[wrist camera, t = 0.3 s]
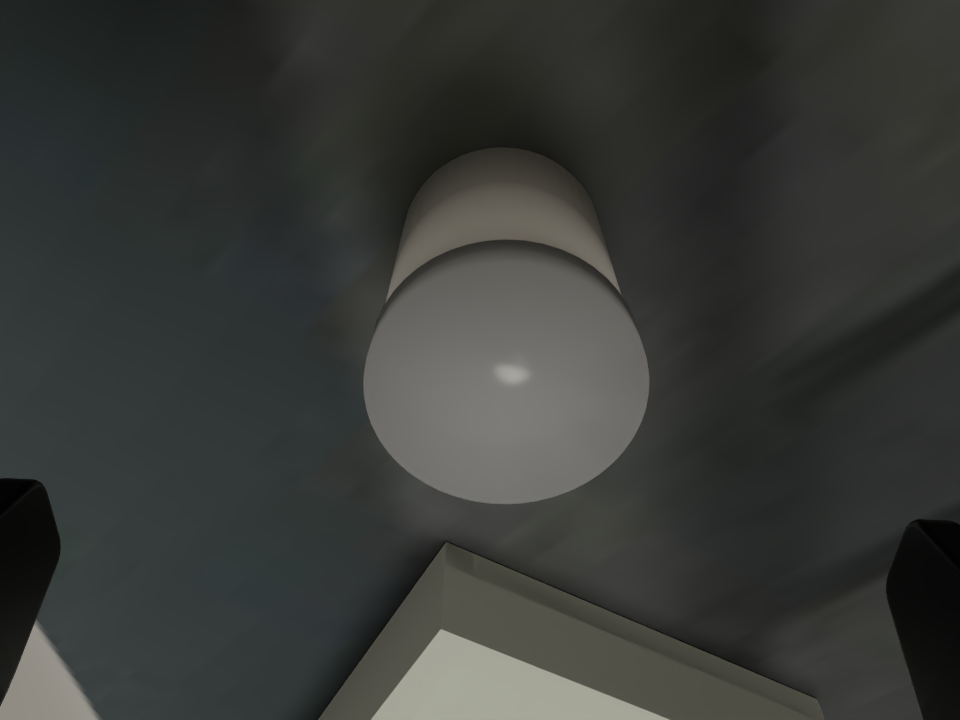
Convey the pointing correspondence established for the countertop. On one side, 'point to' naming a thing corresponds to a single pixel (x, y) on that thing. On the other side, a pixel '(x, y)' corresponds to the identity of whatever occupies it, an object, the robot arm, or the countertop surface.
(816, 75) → the countertop surface
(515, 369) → the cylinder
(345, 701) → the sage tray
